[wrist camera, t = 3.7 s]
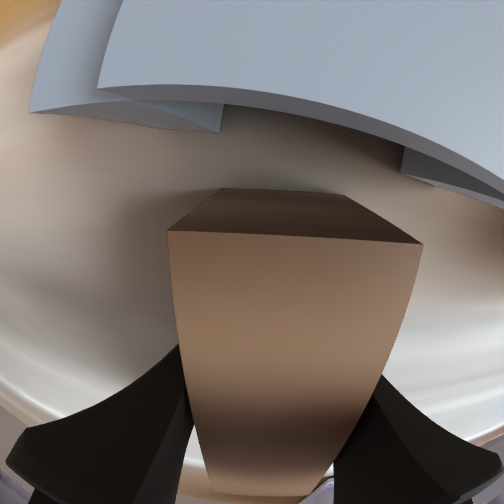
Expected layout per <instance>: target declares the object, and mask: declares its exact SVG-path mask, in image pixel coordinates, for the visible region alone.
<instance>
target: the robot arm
mask: <svg viewBox="0 0 504 504" xmlns="http://www.w3.org/2000/svg"><path fill="white" fill-rule="evenodd" d="M193 427H194V419H193V415H192V411H191V406H190V401H189V396H188V392H187V386H186V381H185V376H184V370H183V365H182V359H181V353H180V347H179V343H178V344H177V345H176V346H175V347H174V348H173V349H172V350H171V351H170V352H169V353H168V354H167V355H166V356H165V357H164V358H163V359H162V360H161V361H159V362H158V363H157V364H156V365H155V366H153V367H152V368H151V369H150V370H149V371H147V372H146V373H145V374H144V375H142V376H141V377H140V378H138V379H137V380H136V381H134V382H133V383H131V384H130V385H128V386H127V387H125V388H124V389H122V390H121V391H119V392H117V393H116V394H114V395H112V396H110V397H109V398H107V399H105V400H103V401H102V402H100V403H98V404H96V405H94V406H92V407H89V408H87V409H85V410H82V411H80V412H77V413H75V414H73V415H70V416H68V417H65V418H62V419H59V420H56V421H52V422H49V423H45V424H41V425H38V426H34V427H29V428H26V429H25V430H24V432H23V433H22V434H21V436H20V437H19V438H18V440H17V442H16V443H15V445H14V447H13V448H12V450H11V452H10V454H9V455H8V457H7V459H6V464H7V466H8V467H9V468H10V469H12V470H13V471H14V472H15V473H16V474H18V475H19V476H20V477H21V478H22V479H24V480H25V481H26V482H28V483H29V484H30V485H32V486H33V487H34V488H35V489H34V492H33V494H32V493H30V492H29V491H27V490H26V489H25V488H23V487H22V485H20V484H19V483H18V482H17V481H15V480H14V479H13V478H12V477H10V476H9V475H8V474H7V473H5V472H4V471H3V470H2V469H1V468H0V504H175V500H176V494H177V489H178V484H179V479H180V475H181V470H182V465H183V461H184V456H185V452H186V448H187V444H188V441H189V438H190V435H191V432H192V429H193ZM333 467H334V478H330V479H328V480H326V481H325V482H324V483H323V484H322V485H321V486H319V487H318V488H317V489H316V490H315V491H313V492H312V493H311V494H310V495H309V496H307V497H306V498H305V499H303V500H302V501H301V502H300V503H298V504H473V502H472V499H471V498H472V497H473V496H475V495H477V494H478V493H480V492H481V491H482V490H484V489H485V488H487V487H488V486H489V485H491V484H492V483H493V482H494V481H496V480H497V479H498V478H500V477H501V476H502V475H503V474H504V467H503V464H502V462H501V460H500V458H499V456H498V454H497V453H494V452H492V451H489V450H486V449H483V448H480V447H478V446H475V445H473V444H471V443H469V442H467V441H465V440H463V439H461V438H459V437H457V436H455V435H453V434H452V433H450V432H448V431H447V430H445V429H444V428H442V427H441V426H439V425H437V424H436V423H435V422H433V421H432V420H431V419H429V418H428V417H427V416H425V415H424V414H423V413H422V412H420V411H419V410H418V409H417V408H416V407H414V406H413V405H412V404H411V403H410V402H409V401H408V400H407V399H406V398H405V397H404V396H403V395H401V394H400V393H399V392H398V391H397V390H396V389H395V388H394V387H393V386H392V385H391V383H390V382H389V381H388V380H387V379H386V378H385V377H384V376H383V375H382V374H381V376H380V378H379V381H378V383H377V385H376V387H375V389H374V391H373V393H372V395H371V397H370V399H369V401H368V403H367V405H366V407H365V409H364V411H363V413H362V415H361V417H360V418H359V420H358V422H357V424H356V426H355V427H354V429H353V431H352V433H351V434H350V436H349V438H348V439H347V441H346V443H345V444H344V446H343V447H342V449H341V451H340V452H339V454H338V455H337V457H336V458H335V460H334V461H333ZM484 504H504V490H503V491H501V492H500V493H498V494H497V495H496V496H494V497H493V498H491V499H490V500H488V501H487V502H485V503H484Z"/></svg>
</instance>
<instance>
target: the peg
mask: <svg viewBox="0 0 504 504" xmlns="http://www.w3.org/2000/svg"><path fill="white" fill-rule="evenodd" d="M167 239H168V253H169V265H170V276H171V286H172V295H173V304H174V312H175V319H176V327H177V334H178V340H179V347H180V353H181V359H182V365H183V370H184V376H185V381H186V386H187V392H188V396H189V401H190V406H191V411H192V415H193V419H194V424H195V428H196V432H197V436H198V440H199V444H200V448H201V452H202V456H203V459H204V463H205V466H206V470H207V473H208V477H209V480H210V483H211V486H212V490H213V492H214V493H222V494H232V495H245V496H304V495H310V493H311V492H312V491H313V489H314V488H315V487H316V485H317V484H318V483H319V481H320V480H321V479H322V477H323V476H324V474H325V473H326V472H327V470H328V469H329V467H330V466H331V464H332V463H333V461H334V460H335V458H336V457H337V455H338V454H339V452H340V451H341V449H342V447H343V446H344V444H345V443H346V441H347V439H348V438H349V436H350V434H351V433H352V431H353V429H354V427H355V426H356V424H357V422H358V420H359V418H360V417H361V415H362V413H363V411H364V409H365V407H366V405H367V403H368V401H369V399H370V397H371V395H372V393H373V391H374V389H375V387H376V385H377V383H378V381H379V378H380V376H381V374H382V372H383V369H384V367H385V365H386V362H387V360H388V358H389V355H390V353H391V350H392V348H393V345H394V343H395V340H396V337H397V335H398V332H399V329H400V326H401V323H402V321H403V318H404V315H405V312H406V308H407V305H408V302H409V299H410V296H411V292H412V289H413V285H414V281H415V278H416V274H417V270H418V266H419V262H420V258H421V253H422V249H423V244H422V243H420V242H419V241H417V240H416V239H414V238H413V237H411V236H410V235H408V234H407V233H405V232H404V231H402V230H401V229H399V228H398V227H396V226H395V225H393V224H391V223H390V222H388V221H387V220H385V219H383V218H382V217H380V216H379V215H377V214H375V213H374V212H372V211H370V210H369V209H367V208H365V207H364V206H362V205H360V204H359V203H357V202H355V201H353V200H352V199H350V198H348V197H346V196H345V195H335V194H323V193H311V192H297V191H280V190H260V189H231V188H221V189H220V190H218V191H217V192H216V193H214V194H213V195H212V196H210V197H209V198H208V199H206V200H205V201H204V202H203V203H201V204H200V205H199V206H197V207H196V208H195V209H193V210H192V211H191V212H190V213H188V214H187V215H186V216H185V217H183V218H182V219H181V220H180V221H178V222H177V223H176V224H175V225H173V226H172V227H171V228H170V229H168V230H167Z"/></svg>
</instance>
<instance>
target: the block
mask: <svg viewBox="0 0 504 504" xmlns="http://www.w3.org/2000/svg"><path fill="white" fill-rule="evenodd" d="M224 104H231V105H239V106H247V107H254V108H261V109H267V110H273V111H279V112H285V113H290V114H295V115H300V116H305V117H309V118H314V119H318V120H322V121H326V122H330V123H334V124H338V125H342V126H345V127H349V128H352V129H356V130H359V131H362V132H366V133H369V134H372V135H375V136H378V137H381V138H384V139H387V140H390V141H393V142H395V143H398V144H401V145H404V146H405V148H404V154H403V159H402V165H401V170H400V173H401V174H404V175H407V176H410V177H413V178H415V179H418V180H421V181H424V182H426V183H429V184H431V185H434V186H437V187H439V188H442V189H445V190H448V191H451V192H455V193H458V194H461V195H464V196H467V197H470V198H473V199H476V200H479V201H482V202H485V203H488V204H491V205H493V206H496V207H499V208H501V209H504V0H62V2H61V4H60V6H59V8H58V11H57V13H56V15H55V18H54V20H53V23H52V25H51V28H50V31H49V34H48V36H47V39H46V42H45V45H44V48H43V52H42V55H41V58H40V62H39V65H38V69H37V73H36V77H35V82H34V86H33V91H32V96H31V101H30V107H29V113H38V114H56V115H69V116H80V117H89V118H98V119H105V120H113V121H120V122H126V123H132V124H138V125H144V126H149V127H155V128H161V129H179V130H192V131H203V132H213V133H219V131H220V125H221V119H222V113H223V107H224Z"/></svg>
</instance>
